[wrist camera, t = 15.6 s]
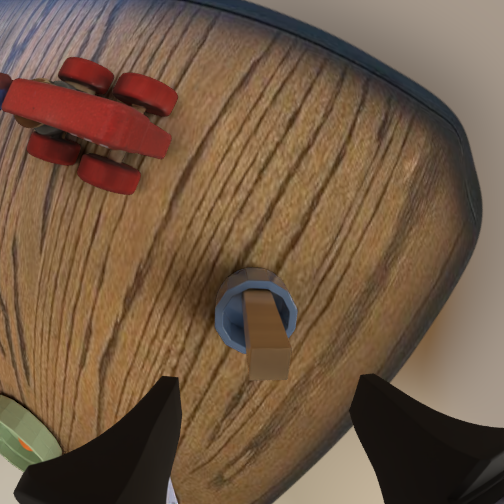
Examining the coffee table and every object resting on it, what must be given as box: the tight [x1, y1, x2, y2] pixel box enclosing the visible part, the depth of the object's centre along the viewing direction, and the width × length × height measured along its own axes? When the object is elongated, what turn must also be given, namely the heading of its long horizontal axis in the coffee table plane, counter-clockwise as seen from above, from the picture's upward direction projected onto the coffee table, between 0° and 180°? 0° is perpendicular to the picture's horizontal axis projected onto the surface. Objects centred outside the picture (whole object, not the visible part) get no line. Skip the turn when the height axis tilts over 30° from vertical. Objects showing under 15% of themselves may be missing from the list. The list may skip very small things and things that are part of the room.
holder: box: [215, 267, 297, 354], centre depth 19 cm, size 5×5×3 cm
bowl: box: [0, 394, 62, 472], centre depth 20 cm, size 12×12×4 cm
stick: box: [242, 288, 292, 380], centre depth 15 cm, size 2×2×9 cm
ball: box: [18, 437, 32, 451], centre depth 20 cm, size 3×3×3 cm
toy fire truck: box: [0, 57, 178, 195], centre depth 12 cm, size 7×12×10 cm, turn 64°
